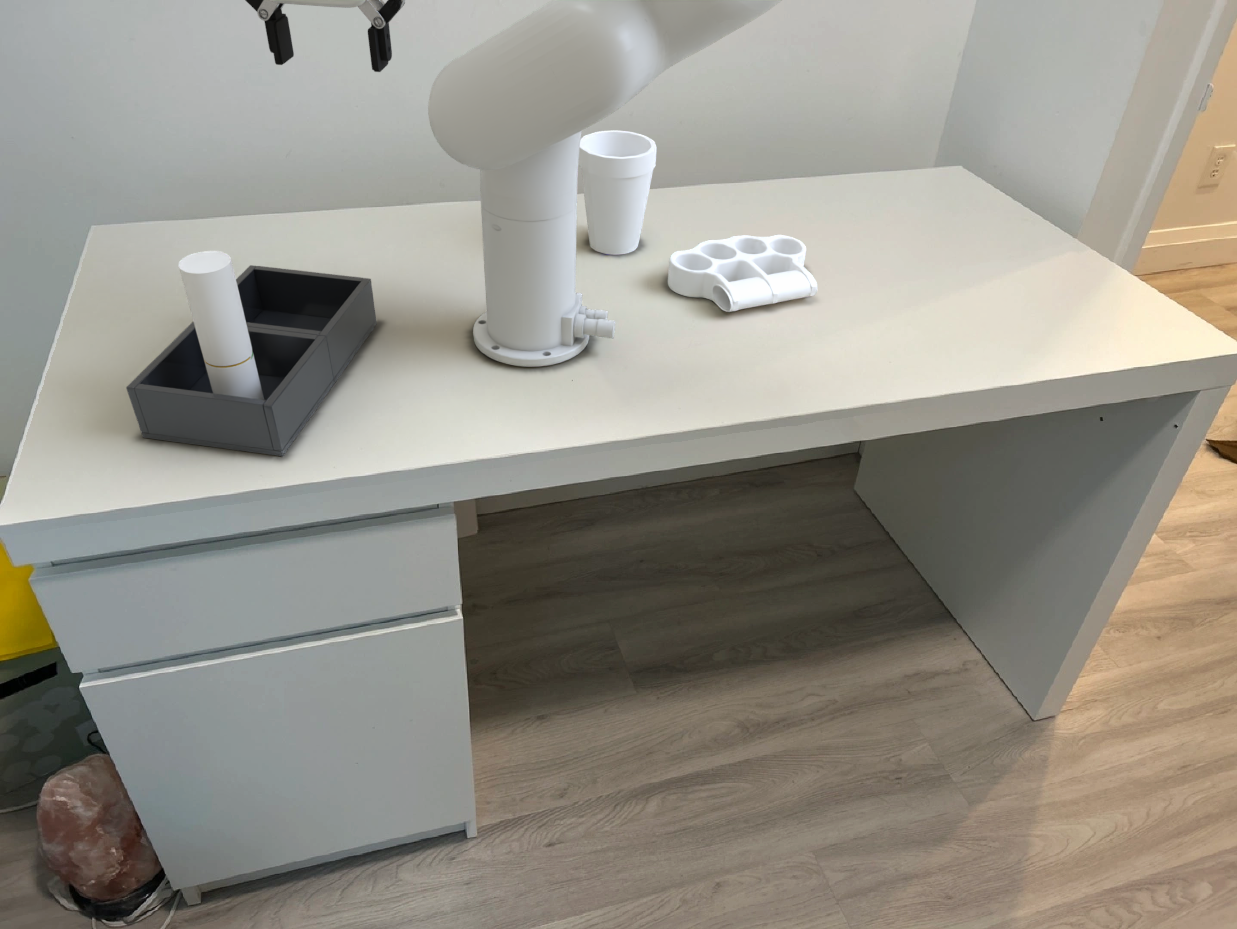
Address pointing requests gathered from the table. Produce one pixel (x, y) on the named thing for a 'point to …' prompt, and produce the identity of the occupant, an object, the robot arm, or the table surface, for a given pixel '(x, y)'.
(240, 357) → the tube
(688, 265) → the knuckle duster
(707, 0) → the robot arm
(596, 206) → the foam cup
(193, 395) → the left basin
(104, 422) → the table surface
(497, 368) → the table surface
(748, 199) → the table surface
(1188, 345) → the table surface
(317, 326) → the right basin
